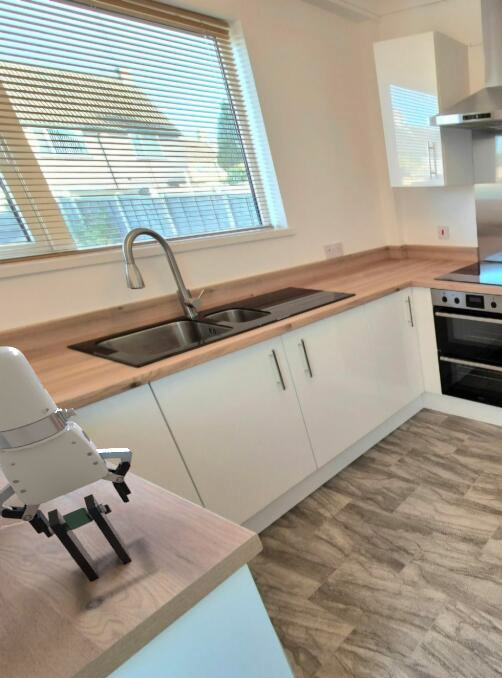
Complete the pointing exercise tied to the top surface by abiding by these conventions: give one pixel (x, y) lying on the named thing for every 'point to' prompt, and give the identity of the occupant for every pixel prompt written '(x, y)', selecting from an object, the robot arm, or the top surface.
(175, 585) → the top surface
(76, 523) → the lever
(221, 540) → the top surface
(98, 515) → the bracket
